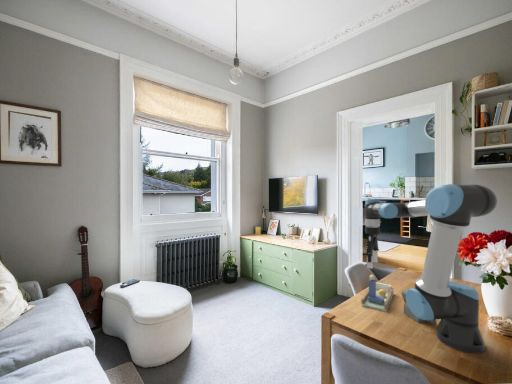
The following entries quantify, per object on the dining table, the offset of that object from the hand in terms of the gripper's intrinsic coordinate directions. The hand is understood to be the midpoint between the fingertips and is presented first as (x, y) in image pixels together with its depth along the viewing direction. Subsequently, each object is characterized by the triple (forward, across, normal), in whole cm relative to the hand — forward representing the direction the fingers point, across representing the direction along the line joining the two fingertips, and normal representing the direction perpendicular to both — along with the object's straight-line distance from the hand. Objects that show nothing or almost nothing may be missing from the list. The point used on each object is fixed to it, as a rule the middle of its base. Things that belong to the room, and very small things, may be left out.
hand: (372, 265), depth 137 cm
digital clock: (+21, -5, -21) cm, 30 cm away
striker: (+19, 0, -2) cm, 19 cm away
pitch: (+20, +6, -2) cm, 21 cm away
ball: (+18, +9, -4) cm, 20 cm away
